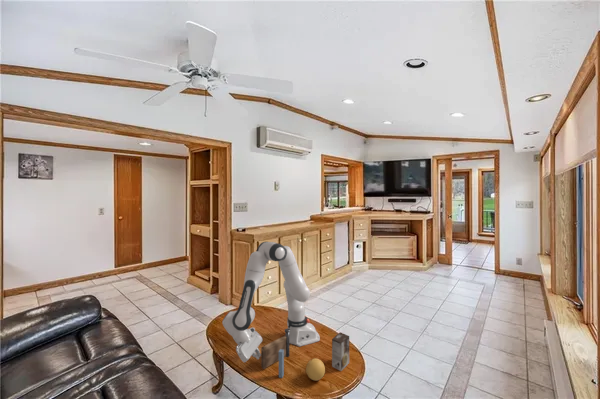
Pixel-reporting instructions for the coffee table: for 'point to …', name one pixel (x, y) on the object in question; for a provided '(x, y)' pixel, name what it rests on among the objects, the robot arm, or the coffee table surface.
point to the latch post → (281, 363)
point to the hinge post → (287, 341)
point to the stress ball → (315, 369)
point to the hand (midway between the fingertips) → (259, 357)
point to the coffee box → (340, 351)
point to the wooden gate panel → (272, 352)
